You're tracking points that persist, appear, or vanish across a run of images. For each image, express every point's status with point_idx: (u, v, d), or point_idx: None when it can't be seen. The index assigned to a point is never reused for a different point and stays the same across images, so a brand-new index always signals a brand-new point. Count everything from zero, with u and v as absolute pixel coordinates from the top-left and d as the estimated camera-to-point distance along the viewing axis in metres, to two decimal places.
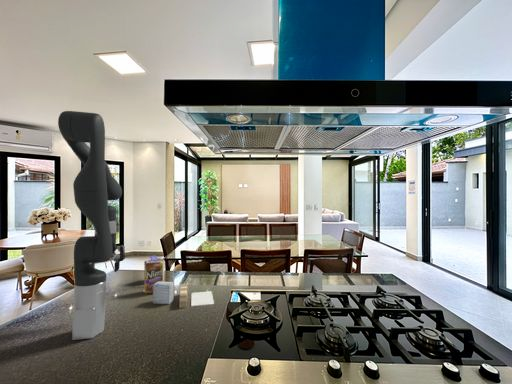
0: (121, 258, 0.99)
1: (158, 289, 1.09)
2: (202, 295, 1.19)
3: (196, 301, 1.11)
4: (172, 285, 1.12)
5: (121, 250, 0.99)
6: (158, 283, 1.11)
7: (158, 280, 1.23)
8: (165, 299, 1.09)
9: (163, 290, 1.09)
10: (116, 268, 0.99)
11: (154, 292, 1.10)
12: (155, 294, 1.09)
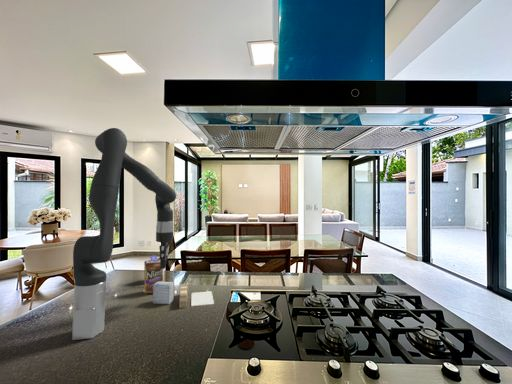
0: None
1: (158, 289, 1.09)
2: (202, 295, 1.19)
3: (196, 301, 1.11)
4: (172, 285, 1.12)
5: None
6: (158, 283, 1.11)
7: (158, 280, 1.23)
8: (165, 299, 1.09)
9: (163, 290, 1.09)
10: None
11: (154, 292, 1.10)
12: (155, 294, 1.09)
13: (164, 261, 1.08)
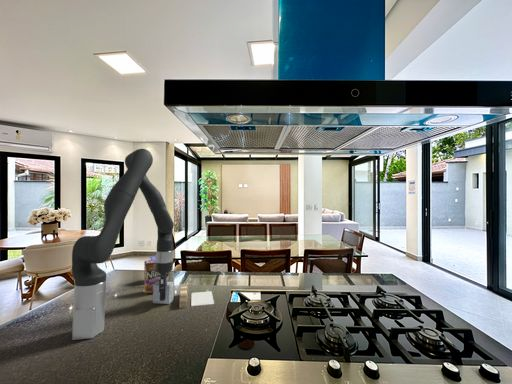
0: None
1: (158, 289, 1.09)
2: (202, 295, 1.19)
3: (196, 301, 1.11)
4: (172, 285, 1.12)
5: None
6: (158, 283, 1.11)
7: (158, 280, 1.23)
8: (165, 299, 1.09)
9: None
10: None
11: (154, 292, 1.10)
12: (155, 294, 1.09)
13: (164, 293, 1.08)
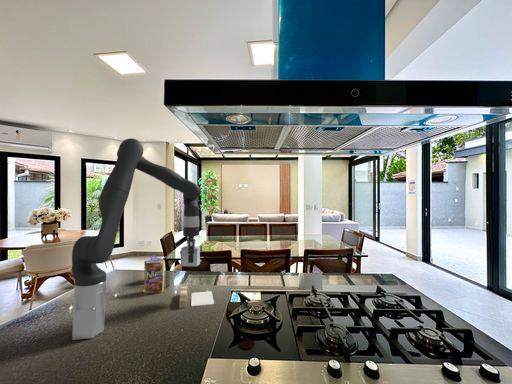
0: None
1: (186, 252, 1.14)
2: (202, 295, 1.19)
3: (196, 301, 1.11)
4: (199, 249, 1.16)
5: None
6: (185, 247, 1.16)
7: (158, 280, 1.23)
8: (193, 261, 1.14)
9: None
10: None
11: (182, 255, 1.14)
12: (183, 257, 1.14)
13: (192, 255, 1.12)
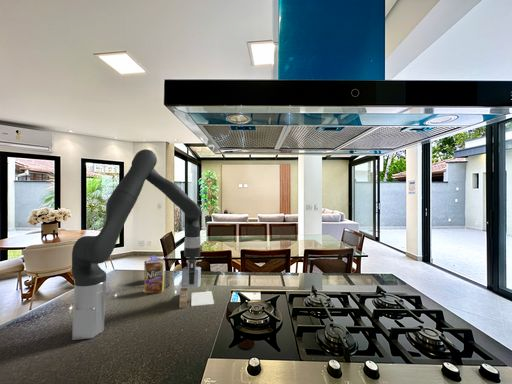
0: None
1: (187, 273, 1.13)
2: (202, 295, 1.19)
3: (196, 301, 1.11)
4: (200, 270, 1.15)
5: None
6: (186, 268, 1.15)
7: (158, 280, 1.23)
8: (194, 283, 1.12)
9: None
10: None
11: (183, 276, 1.13)
12: (184, 278, 1.13)
13: (193, 277, 1.11)
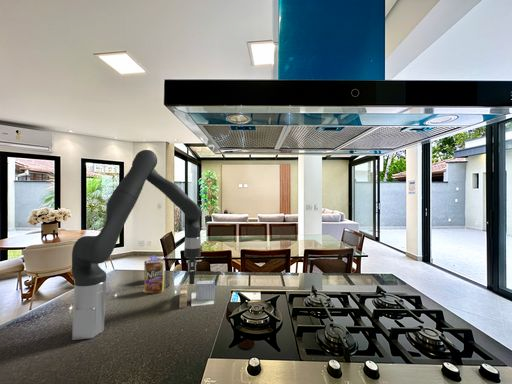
0: None
1: (210, 288, 1.13)
2: None
3: (196, 301, 1.11)
4: None
5: None
6: (214, 285, 1.15)
7: (158, 280, 1.23)
8: (200, 296, 1.12)
9: (209, 294, 1.13)
10: None
11: (207, 285, 1.13)
12: (205, 286, 1.12)
13: (193, 277, 1.10)
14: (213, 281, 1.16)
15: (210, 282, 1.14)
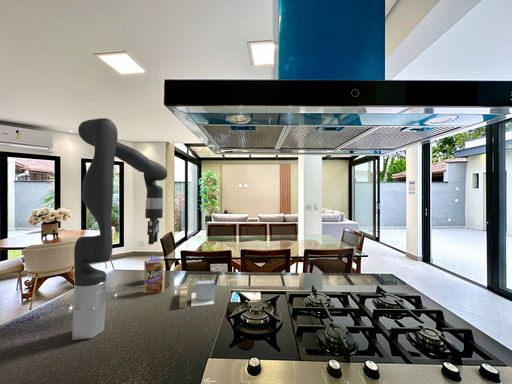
0: (158, 230, 1.19)
1: (210, 288, 1.13)
2: None
3: (196, 301, 1.11)
4: None
5: None
6: (214, 285, 1.15)
7: (158, 280, 1.23)
8: (200, 296, 1.12)
9: (209, 294, 1.13)
10: None
11: (207, 284, 1.13)
12: (205, 286, 1.13)
13: (152, 237, 1.08)
14: (213, 281, 1.16)
15: (210, 282, 1.14)
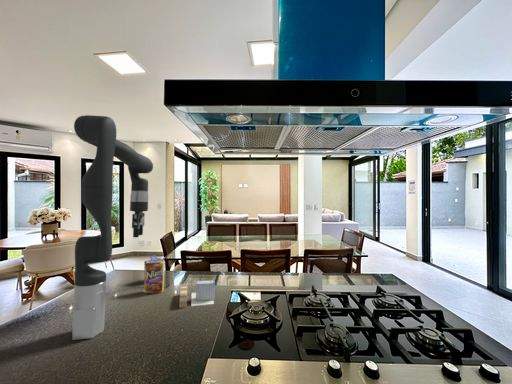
0: None
1: (210, 288, 1.13)
2: None
3: (196, 301, 1.11)
4: None
5: None
6: (214, 285, 1.15)
7: (158, 280, 1.23)
8: (200, 296, 1.12)
9: (209, 294, 1.13)
10: None
11: (207, 284, 1.13)
12: (205, 286, 1.13)
13: (137, 230, 1.07)
14: (213, 281, 1.16)
15: (210, 282, 1.14)
